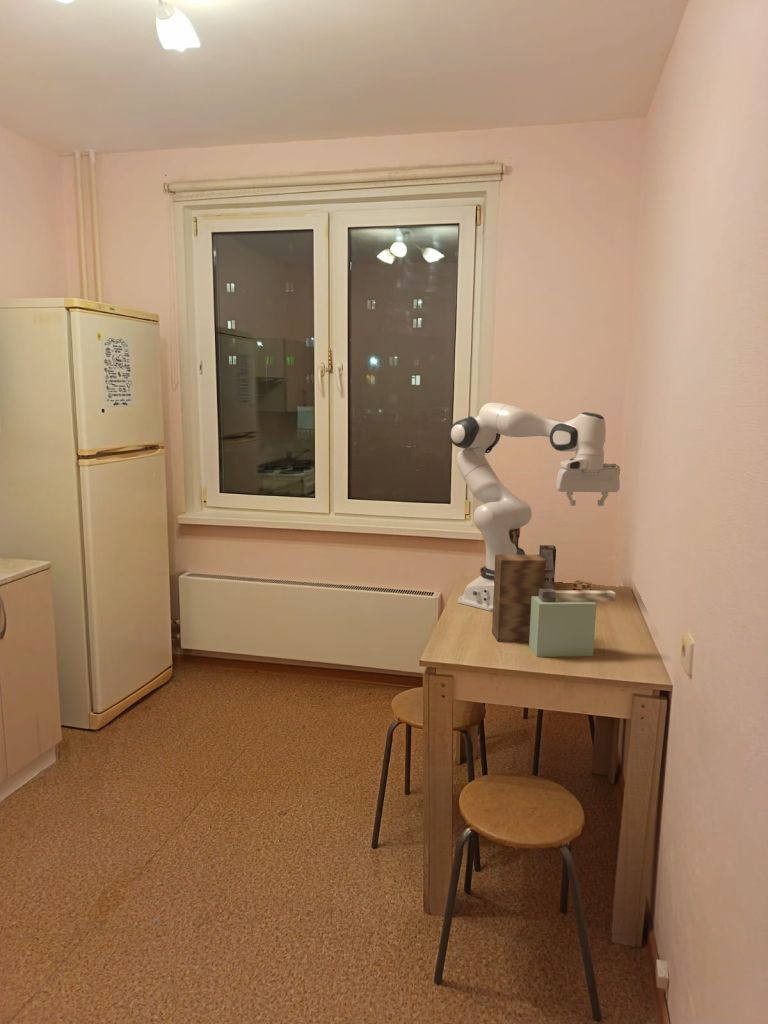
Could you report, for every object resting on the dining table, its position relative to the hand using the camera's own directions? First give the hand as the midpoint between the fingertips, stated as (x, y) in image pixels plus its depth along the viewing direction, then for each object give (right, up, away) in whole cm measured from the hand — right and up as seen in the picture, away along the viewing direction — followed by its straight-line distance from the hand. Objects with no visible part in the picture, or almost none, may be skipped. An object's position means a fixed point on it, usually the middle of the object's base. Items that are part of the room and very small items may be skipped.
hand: (586, 505), depth 217 cm
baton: (-9, -28, -19) cm, 35 cm away
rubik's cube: (+11, -35, +43) cm, 57 cm away
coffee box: (+1, -33, +59) cm, 67 cm away
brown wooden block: (-24, -42, -5) cm, 49 cm away
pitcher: (-15, -33, +53) cm, 64 cm away
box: (-13, -44, -17) cm, 49 cm away
